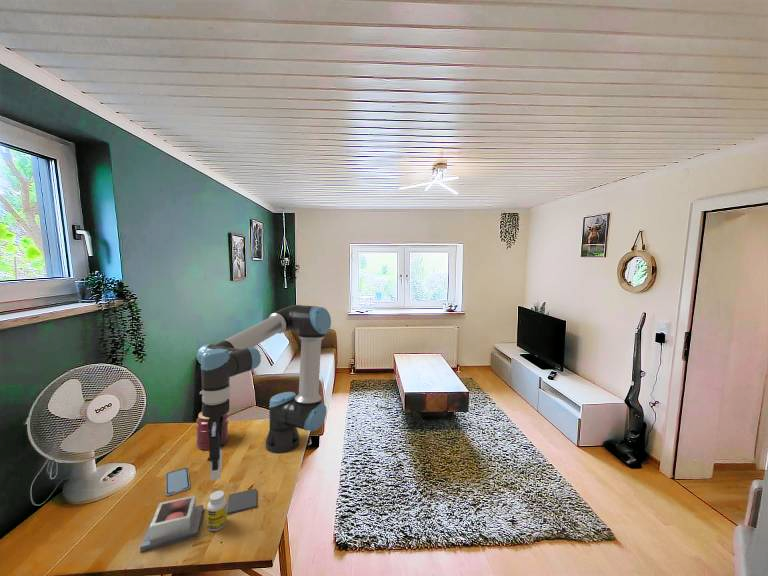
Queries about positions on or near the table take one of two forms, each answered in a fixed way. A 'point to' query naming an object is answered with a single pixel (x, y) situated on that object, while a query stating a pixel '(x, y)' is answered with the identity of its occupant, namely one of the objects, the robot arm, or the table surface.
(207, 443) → the canister
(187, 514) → the grey open box
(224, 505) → the supplement bottle
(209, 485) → the table surface
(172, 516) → the breaker button
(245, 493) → the gray square plate
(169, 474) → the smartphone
